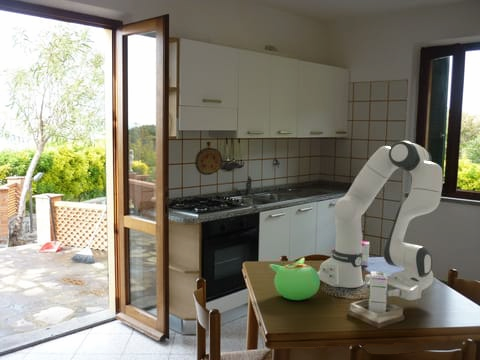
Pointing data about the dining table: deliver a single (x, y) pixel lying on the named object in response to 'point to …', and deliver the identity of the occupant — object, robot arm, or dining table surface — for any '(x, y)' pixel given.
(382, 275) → the syrup box
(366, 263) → the supplement box
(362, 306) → the socket stand
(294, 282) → the toy bird
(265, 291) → the dining table surface
